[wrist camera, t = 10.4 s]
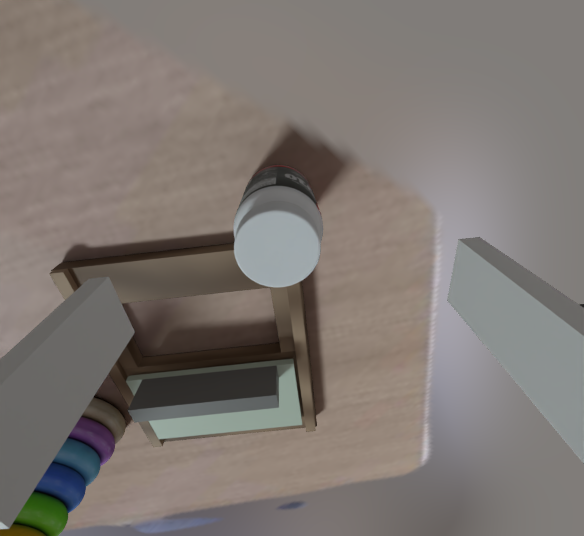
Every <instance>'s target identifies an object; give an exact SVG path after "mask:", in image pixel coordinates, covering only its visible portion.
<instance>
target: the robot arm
mask: <svg viewBox="0 0 584 536" xmlns="http://www.w3.org/2000/svg"><path fill="white" fill-rule="evenodd" d="M447 301H448V302H449V303H450V304H451V306H452V307H453V308H454V309H455V310H456V312H458V314H459V315H460V316H461V318H462V319H463V320H464V321H465V322H466V324H467V325H468V326H469V327H470V328H471V329H472V331H473V332H474V333H475V334H476V335H477V337H478V338H479V339H480V340H481V341H482V343H483V344H484V345H485V346H486V347H487V349H488V350H489V351H490V352H491V353H492V355H493V356H494V357H495V358H496V359H497V360H498V361H499V363H500V364H501V365H502V366H503V368H504V369H505V370H506V371H507V372H508V374H509V375H510V376H511V377H512V379H513V380H514V381H515V382H516V383H517V384H518V385H519V387H520V388H521V389H522V391H523V392H524V393H525V394H526V395H527V396H528V398H529V399H530V400H531V401H532V402H533V404H534V405H535V406H536V407H537V408H538V410H539V411H540V412H541V413H542V414H543V416H544V417H545V418H546V419H547V420H548V422H549V423H550V424H551V425H552V426H553V428H554V429H555V430H556V431H557V432H558V434H559V435H560V436H561V437H562V438H563V440H564V441H565V442H566V443H567V444H568V445H569V447H570V448H571V449H572V450H573V451H574V453H575V454H576V455H577V456H578V457H579V459H580V460H581V461H582V462H583V463H584V304H580V305H579V304H577V303H576V302H574V301H573V300H571V299H570V298H568V297H567V296H565V295H564V294H563V293H561V292H560V291H558V290H557V289H555V288H554V287H552V286H551V285H549V284H548V283H546V282H545V281H543V280H542V279H540V278H539V277H537V276H536V275H535V274H533V273H532V272H530V271H528V270H527V269H526V268H524V267H523V266H521V265H520V264H518V263H517V262H515V261H514V260H513V259H511V258H510V257H508V256H507V255H505V254H503V253H502V252H501V251H499V250H498V249H496V248H495V247H493V246H492V245H490V244H489V243H487V242H486V241H484V240H483V239H482V238H480V237H476V238H466V239H459V240H458V245H457V250H456V256H455V261H454V267H453V272H452V278H451V283H450V288H449V293H448V299H447ZM134 333H135V331H134V329H133V327H132V325H131V323H130V321H129V318H128V316H127V314H126V312H125V310H124V308H123V306H122V304H121V302H120V299H119V297H118V295H117V293H116V291H115V289H114V287H113V285H112V283H111V280H110V278H109V277H101V278H92V279H88V280H87V281H86V282H85V283H84V284H83V285H82V286H80V287H79V288H78V289H77V290H76V291H75V292H74V293H73V294H72V295H71V296H69V297H68V298H67V299H66V300H65V301H64V302H63V303H62V304H61V305H60V306H59V307H57V308H56V309H55V310H54V311H53V312H52V313H51V314H50V315H49V316H48V317H46V318H45V319H44V320H43V321H42V322H41V323H40V324H39V325H38V326H37V327H35V328H34V329H33V330H32V331H31V332H30V333H29V334H28V335H27V336H26V337H25V338H23V339H22V340H21V341H20V342H19V343H18V344H17V345H16V346H15V347H14V348H12V349H11V350H10V351H9V352H8V353H7V354H6V355H5V356H4V357H3V358H1V359H0V529H9V528H10V527H11V525H12V524H13V522H14V520H15V519H16V517H17V516H18V514H19V513H20V511H21V509H22V508H23V506H24V505H25V503H26V502H27V500H28V499H29V497H30V495H31V494H32V492H33V491H34V489H35V488H36V486H37V484H38V483H39V481H40V480H41V478H42V477H43V475H44V474H45V472H46V470H47V469H48V467H49V466H50V464H51V463H52V461H53V460H54V458H55V456H56V455H57V453H58V452H59V450H60V449H61V447H62V445H63V444H64V442H65V441H66V439H67V438H68V436H69V435H70V433H71V431H72V430H73V428H74V427H75V425H76V424H77V422H78V420H79V419H80V417H81V416H82V414H83V413H84V411H85V410H86V408H87V406H88V405H89V403H90V402H91V400H92V399H93V397H94V395H95V394H96V392H97V391H98V389H99V388H100V386H101V385H102V383H103V381H104V380H105V378H106V377H107V375H108V374H109V372H110V371H111V369H112V367H113V366H114V364H115V363H116V361H117V360H118V358H119V356H120V355H121V353H122V352H123V350H124V349H125V347H126V346H127V344H128V342H129V341H130V339H131V338H132V336H133V335H134Z"/></svg>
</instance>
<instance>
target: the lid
mask: <svg viewBox="0 0 584 536" xmlns="http://www.w3.org/2000/svg"><path fill="white" fill-rule="evenodd" d="M126 383H127V384H128V386H129V388H130V390H131V391H132V393H133V395H134V398H133V400H132V402H131V404H130V406H129V408H128V412H129V414H130V415H131V417H132V419H133V420H134V422H144V421H149V423H150V425H151V426H152V428H153V430H154V432H155V433H156V435H157V437H158V439H167V438H177V437H187V436H197V435H207V434H216V433H226V432H236V431H246V430H256V429H266V428H276V427H286V426H296V425H302V416H301V409H300V402H299V396H298V389H297V382H296V375H295V368H294V361H293V359H284V360H275V361H265V362H255V363H246V364H236V365H227V366H217V367H208V368H198V369H189V370H179V371H169V372H160V373H150V374H141V375H131V376H128V378H127V380H126Z"/></svg>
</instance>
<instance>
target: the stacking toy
mask: <svg viewBox="0 0 584 536" xmlns="http://www.w3.org/2000/svg"><path fill="white" fill-rule="evenodd" d="M125 427H126V425H125V420H124V418H123V416H122V414H121V413H120V412H119V411H118V410H117V409H116V408H115V407H113V406H112V405H110V404H109V403H107V402H105V401H102V400H100V399H97V398H93V399H92V400H91V402H90V403H89V405H88V406H87V408H86V410H85V411H84V413H83V414H82V416H81V417H80V419H79V420H78V422H77V424H76V425H75V427H74V428H73V430H72V431H71V433H70V435H69V436H68V438H67V439H66V441H65V442H64V444H63V445H62V447H61V449H60V450H59V452H58V453H57V455H56V456H55V458H54V460H53V461H52V463H51V464H50V466H49V467H48V469H47V470H46V472H45V474H44V475H43V477H42V478H41V480H40V481H39V483H38V484H37V486H36V488H35V489H34V491H33V492H32V494H31V495H30V497H29V499H28V500H27V502H26V503H25V505H24V506H23V508H22V509H21V511H20V513H19V514H18V516H17V517H16V519H15V520H14V522H13V524H12V525H11V527H10V528H9V529H0V536H58V535H59V534H60V533H61V532H62V531H63V529H64V527H65V525H66V523H67V520H68V513H69V512H71V511H72V510H74V509H75V508H76V507H77V506H78V505H79V504H80V502H81V501H82V499H83V497H84V494H85V490H86V486H88V485H89V484H90V483H91V482H92V481H93V480H94V479H95V478H96V476H97V475H98V473H99V470H100V466H101V465H103V464H104V463H106V462H107V461H108V460H109V459H110V457H111V456H112V454H113V452H114V448H115V444H116V443H117V442H119V441H120V439H121V438H122V436H123V434H124V432H125Z"/></svg>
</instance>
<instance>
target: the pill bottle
mask: <svg viewBox="0 0 584 536" xmlns="http://www.w3.org/2000/svg"><path fill="white" fill-rule="evenodd" d="M322 235H323V222H322V217H321V213H320V211H319V208H318V205H317V202H316V200H315V197H314V194H313V191H312V188H311V186H310V184H309V182H308V180H307V179H306V178H305V177H304V175H303V174H301V173H300V172H299V171H297V170H296V169H294V168H292V167H289V166H285V165H273V166H269V167H266V168H263V169H261V170H260V171H258V172H257V173H256V174H255V175H254V176H253V177H252V178H251V179H250V181H249V183H248V185H247V187H246V190H245V192H244V195H243V197H242V200H241V203H240V205H239V208H238V210H237V213H236V216H235V220H234V237H235V242H234V254H235V259H236V261H237V264H238V266H239V267H240V269H241V270H242V272H243V273H244V274H245V275H246V276H247V277H249V278H250V279H251V280H253V281H254V282H256V283H259V284H261V285H264V286H268V287H286V286H290V285H294V284H296V283H298V282H300V281H302V280H303V279H305V278H306V277H307V276H308V275H309V274H310V273H311V272H312V271H313V270H314V268H315V267H316V265H317V263H318V260H319V257H320V251H321V246H320V243H321V240H322Z"/></svg>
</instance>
